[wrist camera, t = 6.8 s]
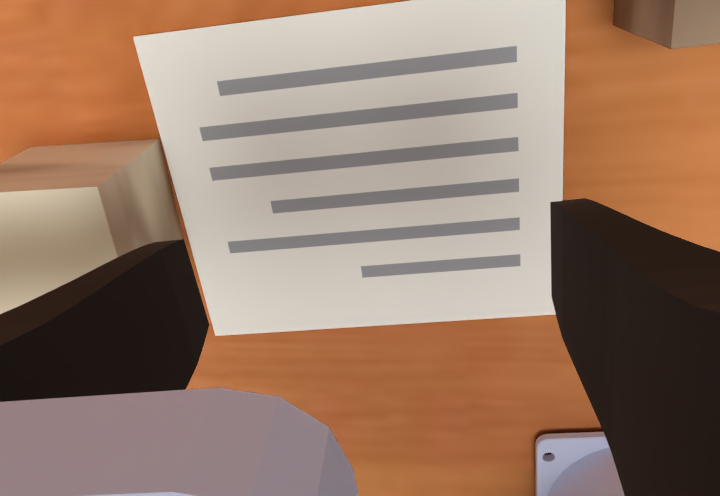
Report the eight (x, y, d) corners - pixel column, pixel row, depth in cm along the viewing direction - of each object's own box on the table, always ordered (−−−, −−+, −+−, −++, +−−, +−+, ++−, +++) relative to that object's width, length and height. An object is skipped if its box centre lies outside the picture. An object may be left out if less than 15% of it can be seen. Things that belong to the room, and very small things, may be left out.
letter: (559, 311, 24) (560, 314, 24) (216, 333, 26) (215, 335, 26) (564, -20, 19) (566, -20, 19) (134, 36, 21) (132, 36, 21)
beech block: (189, 260, 25) (139, 330, 20) (70, 265, 25) (-4, 334, 21) (160, 137, 22) (97, 186, 18) (31, 146, 23) (-62, 195, 18)
